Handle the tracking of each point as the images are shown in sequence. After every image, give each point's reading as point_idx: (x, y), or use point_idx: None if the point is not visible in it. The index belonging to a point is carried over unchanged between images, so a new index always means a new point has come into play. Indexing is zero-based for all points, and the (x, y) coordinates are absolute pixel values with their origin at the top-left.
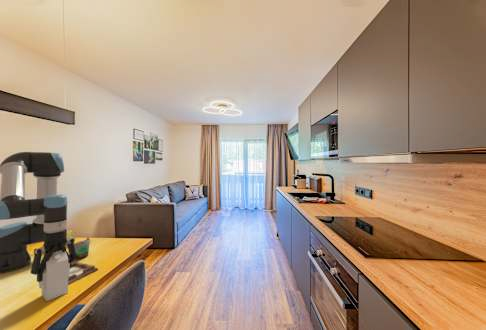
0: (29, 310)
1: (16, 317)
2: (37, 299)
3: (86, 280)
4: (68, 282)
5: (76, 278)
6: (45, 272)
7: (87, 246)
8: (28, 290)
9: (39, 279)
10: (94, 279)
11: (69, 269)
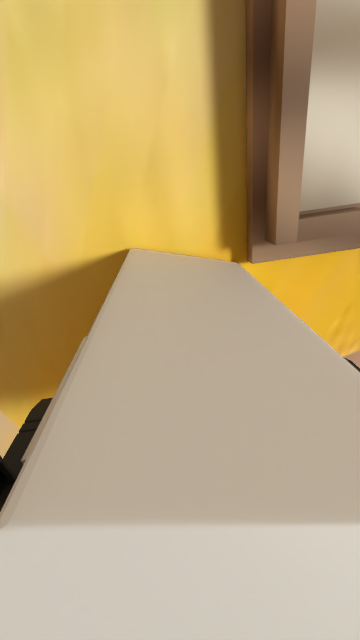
0: (52, 350)
1: (3, 359)
2: (102, 272)
3: (339, 304)
4: (281, 257)
5: (337, 248)
6: None
7: None
8: (94, 11)
9: None
10: (357, 333)
11: None
